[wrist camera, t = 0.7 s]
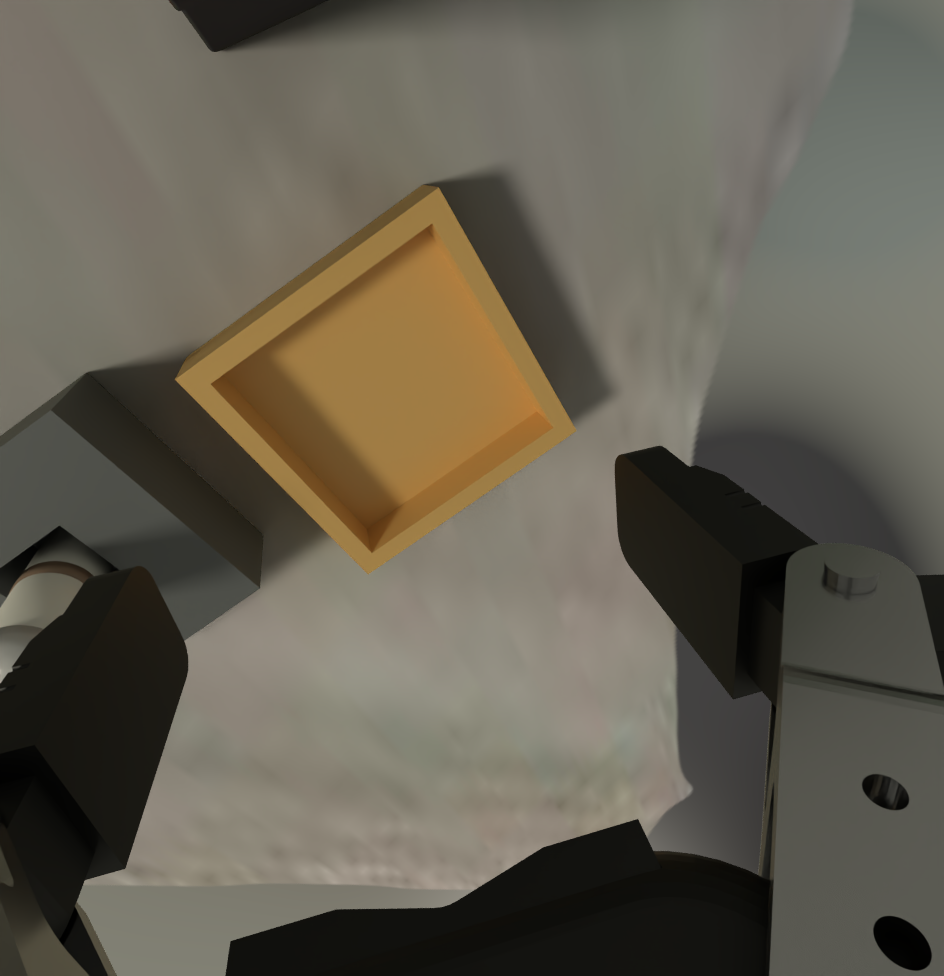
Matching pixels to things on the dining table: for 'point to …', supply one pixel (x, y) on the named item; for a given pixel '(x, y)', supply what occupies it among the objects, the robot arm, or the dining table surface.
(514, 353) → the parts tray
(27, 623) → the cylinder
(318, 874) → the dining table surface
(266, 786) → the dining table surface
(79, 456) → the fuse block
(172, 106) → the dining table surface
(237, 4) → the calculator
